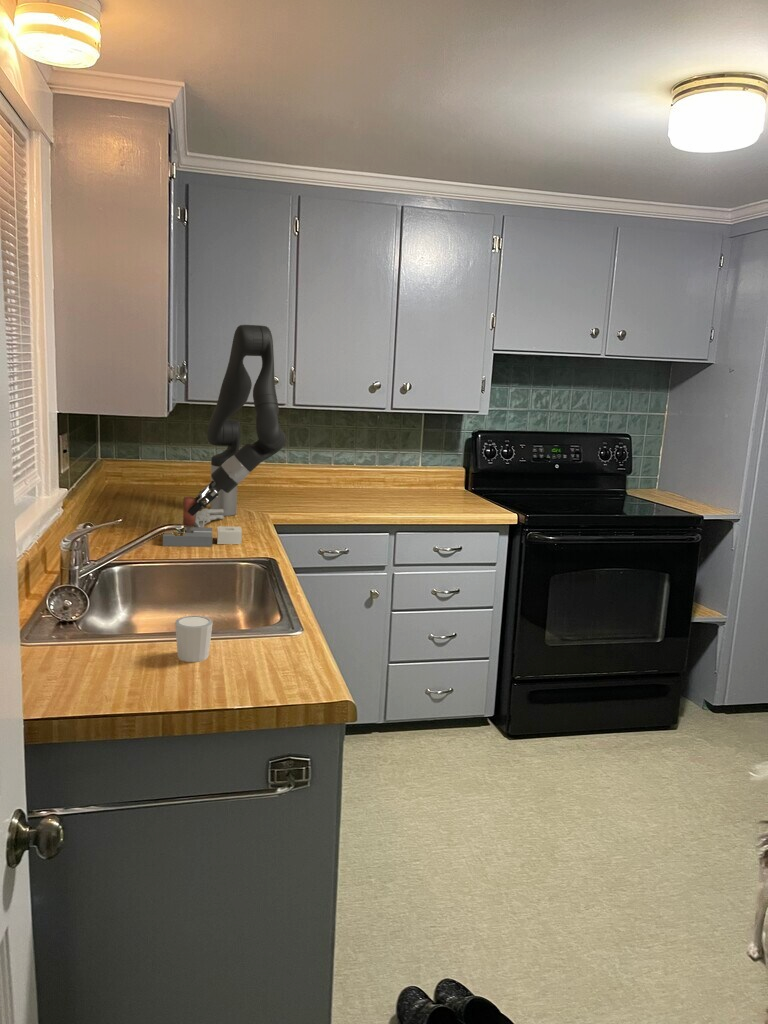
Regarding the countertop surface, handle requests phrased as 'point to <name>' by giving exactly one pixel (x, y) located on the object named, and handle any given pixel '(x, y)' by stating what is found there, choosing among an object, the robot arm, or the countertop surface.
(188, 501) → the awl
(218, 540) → the block
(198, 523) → the gun
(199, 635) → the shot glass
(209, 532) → the grey flat block
